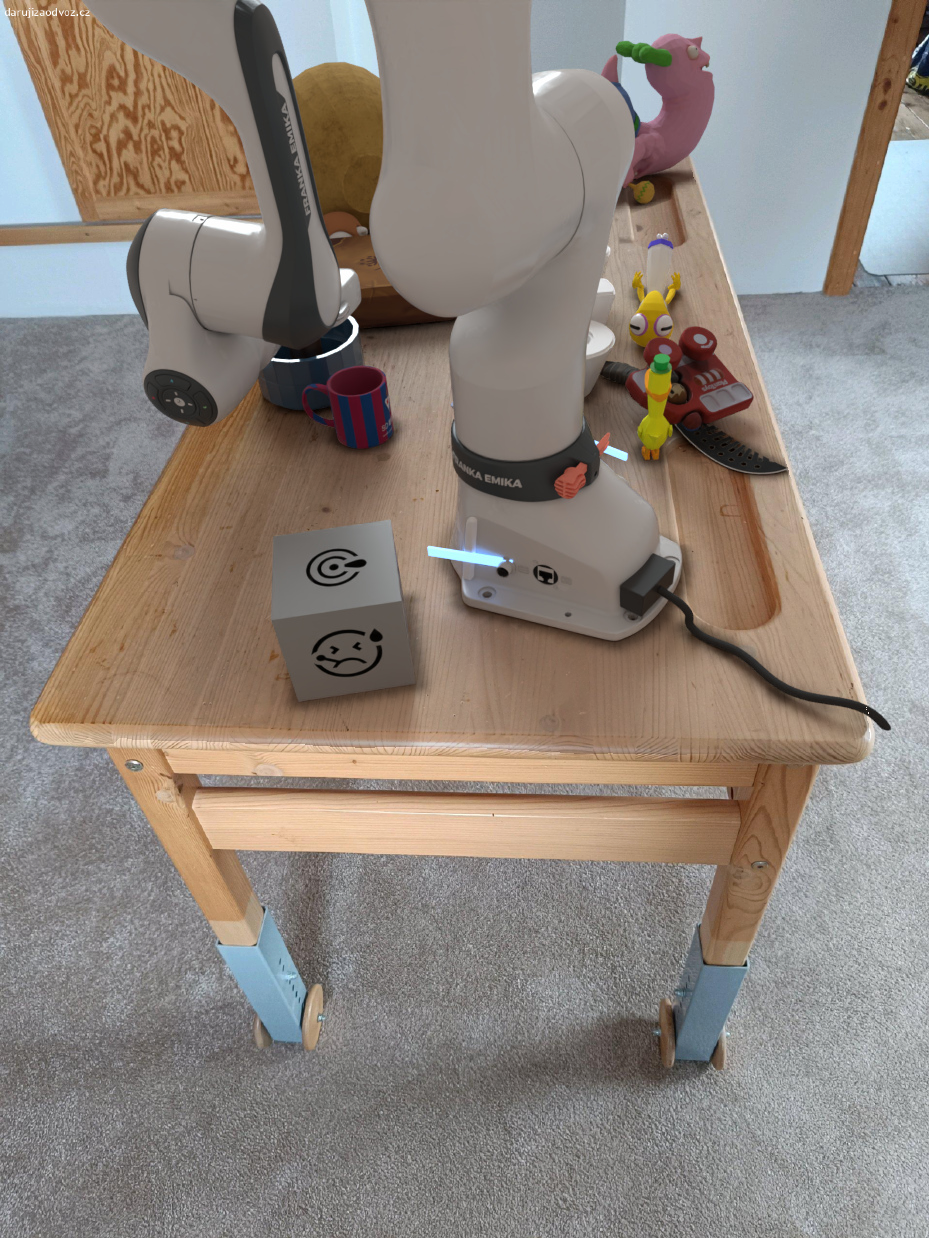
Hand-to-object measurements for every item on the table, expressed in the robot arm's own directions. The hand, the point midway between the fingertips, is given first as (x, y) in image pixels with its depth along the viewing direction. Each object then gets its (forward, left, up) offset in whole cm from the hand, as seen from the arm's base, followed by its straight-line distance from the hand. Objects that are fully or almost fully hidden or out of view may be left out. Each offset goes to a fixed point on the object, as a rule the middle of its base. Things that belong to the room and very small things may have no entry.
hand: (290, 262), depth 97 cm
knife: (-43, -10, -15) cm, 46 cm away
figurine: (+23, -21, -11) cm, 33 cm away
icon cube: (-33, +34, -15) cm, 50 cm away
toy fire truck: (-39, -16, -10) cm, 44 cm away
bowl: (0, +1, -15) cm, 15 cm away
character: (-31, -33, -15) cm, 48 cm away
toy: (+5, -68, 0) cm, 68 cm away
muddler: (0, +1, -12) cm, 12 cm away
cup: (-11, +7, -15) cm, 20 cm away
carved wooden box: (+4, -23, -15) cm, 28 cm away
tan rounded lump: (+16, -34, -5) cm, 38 cm away
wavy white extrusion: (-22, -21, -15) cm, 34 cm away
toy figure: (-44, -5, -15) cm, 47 cm away
